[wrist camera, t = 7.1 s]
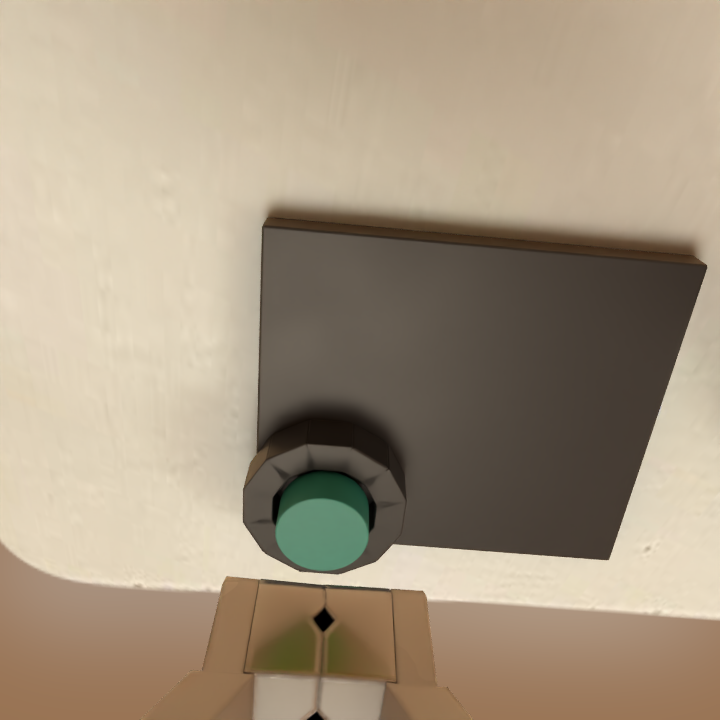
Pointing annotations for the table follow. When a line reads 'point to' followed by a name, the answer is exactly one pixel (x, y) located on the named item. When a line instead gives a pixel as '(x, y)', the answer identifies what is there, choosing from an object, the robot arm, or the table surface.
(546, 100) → the table surface
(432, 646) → the robot arm
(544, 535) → the scale
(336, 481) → the button
